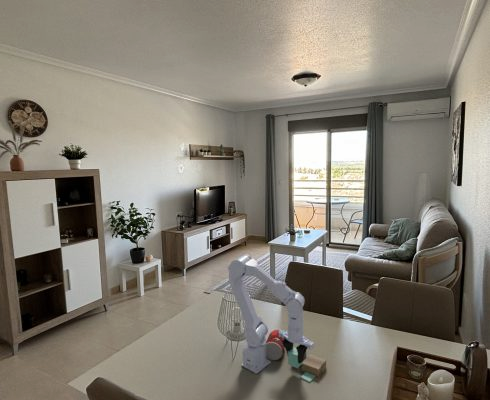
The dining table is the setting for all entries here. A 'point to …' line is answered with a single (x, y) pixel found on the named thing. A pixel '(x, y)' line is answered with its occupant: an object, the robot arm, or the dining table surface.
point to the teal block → (293, 358)
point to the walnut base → (314, 365)
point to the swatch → (308, 376)
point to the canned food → (274, 346)
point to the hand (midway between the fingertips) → (295, 359)
